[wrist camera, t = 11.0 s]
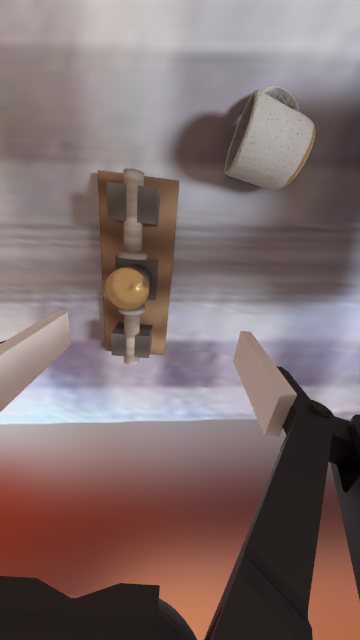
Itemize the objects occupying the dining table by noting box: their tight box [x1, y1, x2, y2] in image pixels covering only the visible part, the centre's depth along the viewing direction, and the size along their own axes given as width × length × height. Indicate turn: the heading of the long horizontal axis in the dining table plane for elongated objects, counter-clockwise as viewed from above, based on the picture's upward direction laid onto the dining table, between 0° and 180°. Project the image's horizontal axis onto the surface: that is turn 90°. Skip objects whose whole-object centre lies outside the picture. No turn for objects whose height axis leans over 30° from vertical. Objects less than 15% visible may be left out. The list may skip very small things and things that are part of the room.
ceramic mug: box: [224, 86, 316, 190], centre depth 23 cm, size 11×8×8 cm
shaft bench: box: [98, 169, 179, 365], centre depth 30 cm, size 28×11×7 cm, turn 174°
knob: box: [106, 264, 152, 310], centre depth 29 cm, size 5×5×7 cm
